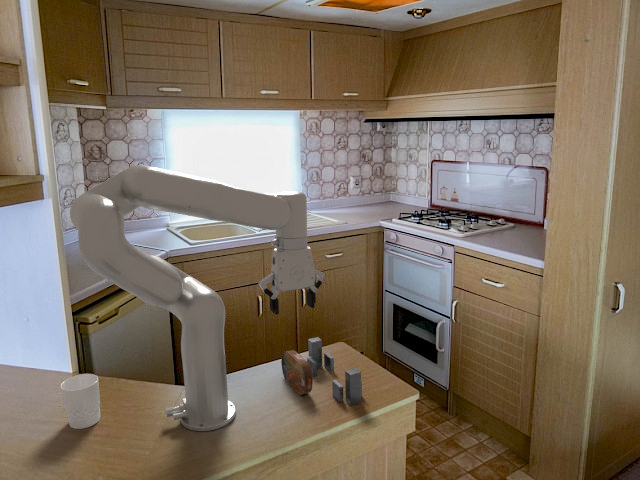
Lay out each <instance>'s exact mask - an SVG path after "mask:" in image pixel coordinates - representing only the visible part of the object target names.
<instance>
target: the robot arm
mask: <svg viewBox="0 0 640 480" xmlns="http://www.w3.org/2000/svg"><path fill="white" fill-rule="evenodd" d="M307 205H308V203H307V195H306V194H305V193H304V192H303V191H302V192H301V191H296V190H292V191H289V190H288V191H280V192H277V193H272V192H271V193H270V192H257V191H252V190H249V189H244V188H240V187H235V186H234V185H229V184H226V183H224V182H221V181H218V180H215V179H214V180H213V179H210V178H205V177H201V176H195V175H191V174H186V173H181V172H178V171H173V170H168V169H164V168H159V167H156V166H150V165H149V166H148V165H145V164H136V165H132V166H130V167H127V168H125V169H124V170H121V171H120V172H118V173H117V174H115V175H113V176H112V177H110V178H108V179H106V180H105V181H103V182H101V183H98V185H96V186H93V187H92V188H90V189H88V190H87V191H85V192H83V193H82V194H81V195H79V196H77V197H76V199H75V200H74V201H73V202H72V204H71V206H70V209H69V217H70V221H71V223H72V224H73V226H74V227H75V228H76V230H77V232H78V234H77V235H78V236H77V237H78V248H79V250H80V254H81V257H82V259H83V260H84V262H85V264H86V265H87V266H88V267H89V269H90V270H91V271H92V272H94V273H95V274H97V275H98V276H100V277H102V278H104V280H107V281H109V282H110V283H112V284H114V285H115V286H117V287H118V288H120V289H122V290H124V291H126V292H127V293H130V294H131V295H133V296H135V297H137V298H138V299H139V300H140V301H142V302H144V303H145V304H147V305H149V306H152V307H160V308H163V309H164V310H167V311H168V312H169V313H172V314H173V315H174V316H175V317H176V318H177V319H178V320H179V321H180V323H181V338H180V352H181V359H182V360H181V361H182V371H183V384H184V393H185V397H184V398H182V403H179V404H178V405H176V406H171V407H167V408H165V409H164V410H165V411H164V412H165V417H166V418H169V417H172V419H173V421H177V420H180V423H181V425H182V426H183V427H185V429H188V430H190V431H196V432H210V431H215V430H218V429H221V428H223V427H225V426H227V425H228V424H229V423H231V422H232V420H234V418H235V417H236V413H237V412H236V405H234V403H233V402H232V401H230V400H229V395H228V394H229V392H228V380H227V379H228V378H227V377H228V376H227V366H226V362H227V361H226V353H225V351H226V350H225V325H226V324H225V322H226V308H225V304H224V302H223V300H222V297H221V296H220V295H219V294H218V293H217V292H216V291H215V290H213V289H212V288H210V287H209V286H207V285H206V284H205V283H203V282H201V281H199V279H196V278H195V277H193V276H191V275H189V274H188V273H186V272H184V271H183V270H181V269H180V268H178V267H176V266H174V265H173V264H171V263H170V262H168V261H166V260H165V259H163V258H161V257H159V256H158V255H153V254H148V253H146V252H145V251H144V250H142V249H140V248H139V247H137V246H136V245H134V244H133V243H132V242H131V243H130V242H129V241H128V240H127V238H126V236H125V230H124V229H125V217H126V216H127V215H129V214H130V213H133V212H135V210H137V209H138V208H140V207H141V208H144V209H148V210H153V211H160V212H164V213H170V214H178V215H185V216H189V217H194V218H195V217H196V218H199V219H204V220H209V221H216V222H224V223H229V224H230V223H231V224H236V225H239V226H241V225H242V226H246V227H251V228H257V229H261V230H262V229H263V230H268V231H269V230H270V231H275V238H274V239H272V240H270V245H271V246H273V247H275V248H273V253H272V258H271V267H270V268H271V269H270V271H271V272H270V273H269V274H268V275H266V276H265V277H264V278H262V279H261V280H259V281H258V285H259V287H260V288H261V290H262V292H263V293H264V294H266V296H268V297H269V309H270V311H271V312H272V313H273V314H274V315H279V314H280V311H279V310H280V309H279V307H280V306H279V302H280V301H279V299H278V298H277V297H278V295H280V293H281V292H282V293H284V292H285V293H286V292H292V291H297V290H305V289H307V290H306V305H307V306H308V307H309V308H311V309H315V306H316V299H317V297H316V293H317V292H318V289H319V288H320V287H321V285H322V284H323V281H324V278H325V277H326V274H325V272H322V271H320V270H318V269H315V263H314V257H313V253H312V248H311V247H310V246H308V210H307V209H308V208H307ZM269 283H271V288H270V289H269V288H268V287H267V285H268V284H269Z"/></svg>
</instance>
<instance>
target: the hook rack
mask: <svg viewBox="0 0 640 480" xmlns="http://www.w3.org/2000/svg"><path fill="white" fill-rule="evenodd" d="M307 341H308V347H307V349H308V356H307V357H306V361H307V362H308V363H309V365H310V367H311V370H312V374H313V378H314V377H317V376H318V370H317V369H319V368H323V367H324V368H326V369H327V370H328V371H329V372H330V373H332V372H333V373H334V372H335V366H334V365H335V362H334V361H335V360H334V359H335V358H334V357H333V355H331V354H330V353H329V352H324V353H323V340H322V339H321V338H320V337H319V336H317V337H312V338H308V339H307ZM323 360H324V362H323ZM323 363H324V366H323ZM344 375H345V376H344V377H345V378H344V379H345V380H344V382H345V384H344V385H345V391H344V386H343V385H342V384H341V383H340V382H339V381H338V380H337V379H334V380H332V383H331V384H332V396H333V397H334V399H336V400H337V402H339V403H343V402H344V392H345V402H346V403H347V404H348V405H349V406H353V405H357V404H360V403H362V396H363V393H362V392H363V390H362V389H363V386H362V385H363V382H362V372H361V370H359V368H357V367H354V368H351V369H350V368H349V369H347V370H345V371H344Z"/></svg>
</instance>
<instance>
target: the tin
mask: <svg viewBox="0 0 640 480" xmlns="http://www.w3.org/2000/svg"><path fill="white" fill-rule="evenodd" d="M280 362H281V370H282V375H283V378H284V380H285V382H286V383H287V384H288V385H289V386H290V387H291V388H292V389H293V390H294V391H295V392H296V394H298V395H299V396H301V395H305V394H309V393H310V392H311V391H312V390H313V385H314V384H313V379H314V377H313V374H312V370H311V367H310V365H309V363H308V362H307V359H305V358H304V357H303V356H302V355H301V354H299V352H297V351H296V350H284V351H283V352H282V355H281V361H280Z"/></svg>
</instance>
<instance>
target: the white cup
mask: <svg viewBox="0 0 640 480" xmlns="http://www.w3.org/2000/svg"><path fill="white" fill-rule="evenodd" d="M59 387H60V390H61V391H60V392H61V396H62V401H63V406H64V411H65V415H66V417H67V420H68V426H69V427H70V428H71V429H75V430H76V429H77V430H82V429H87V428H89V427H92V426H94V425H95V424H97V423H99V422H100V420H101V416H102V415H101V408H100V407H101V400H100V399H101V396H100V385H99V376H98V375H97V374H93V373H82V374H81V373H80V374H77V375H74V376H73V375H72V376H69V378H67V379H65V380H62V382H61V384H60V385H59Z"/></svg>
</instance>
